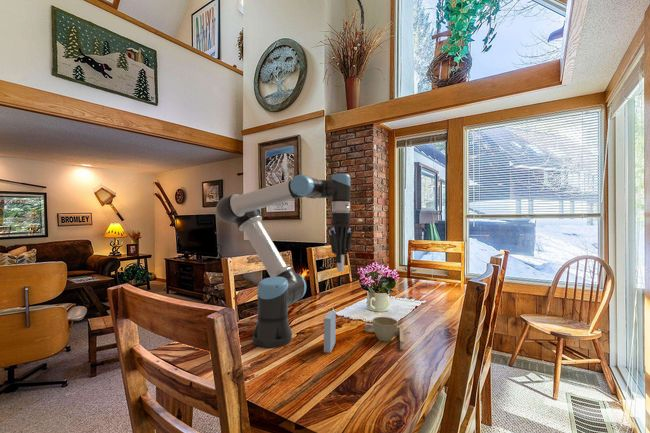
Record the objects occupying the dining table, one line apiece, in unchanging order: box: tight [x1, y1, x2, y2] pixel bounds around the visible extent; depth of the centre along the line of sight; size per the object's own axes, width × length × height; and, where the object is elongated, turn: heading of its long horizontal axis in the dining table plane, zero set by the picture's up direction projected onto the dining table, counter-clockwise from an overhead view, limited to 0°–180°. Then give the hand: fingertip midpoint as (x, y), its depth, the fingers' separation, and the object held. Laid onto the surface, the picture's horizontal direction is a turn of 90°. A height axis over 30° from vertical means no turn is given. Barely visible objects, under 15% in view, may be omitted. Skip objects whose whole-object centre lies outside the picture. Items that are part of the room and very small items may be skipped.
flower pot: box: [371, 316, 399, 342], centre depth 117 cm, size 10×10×7 cm
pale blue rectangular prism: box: [323, 310, 337, 354], centre depth 109 cm, size 2×9×12 cm, turn 166°
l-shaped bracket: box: [364, 322, 405, 351], centre depth 117 cm, size 16×16×3 cm
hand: (340, 270), depth 120 cm, fingers closed
